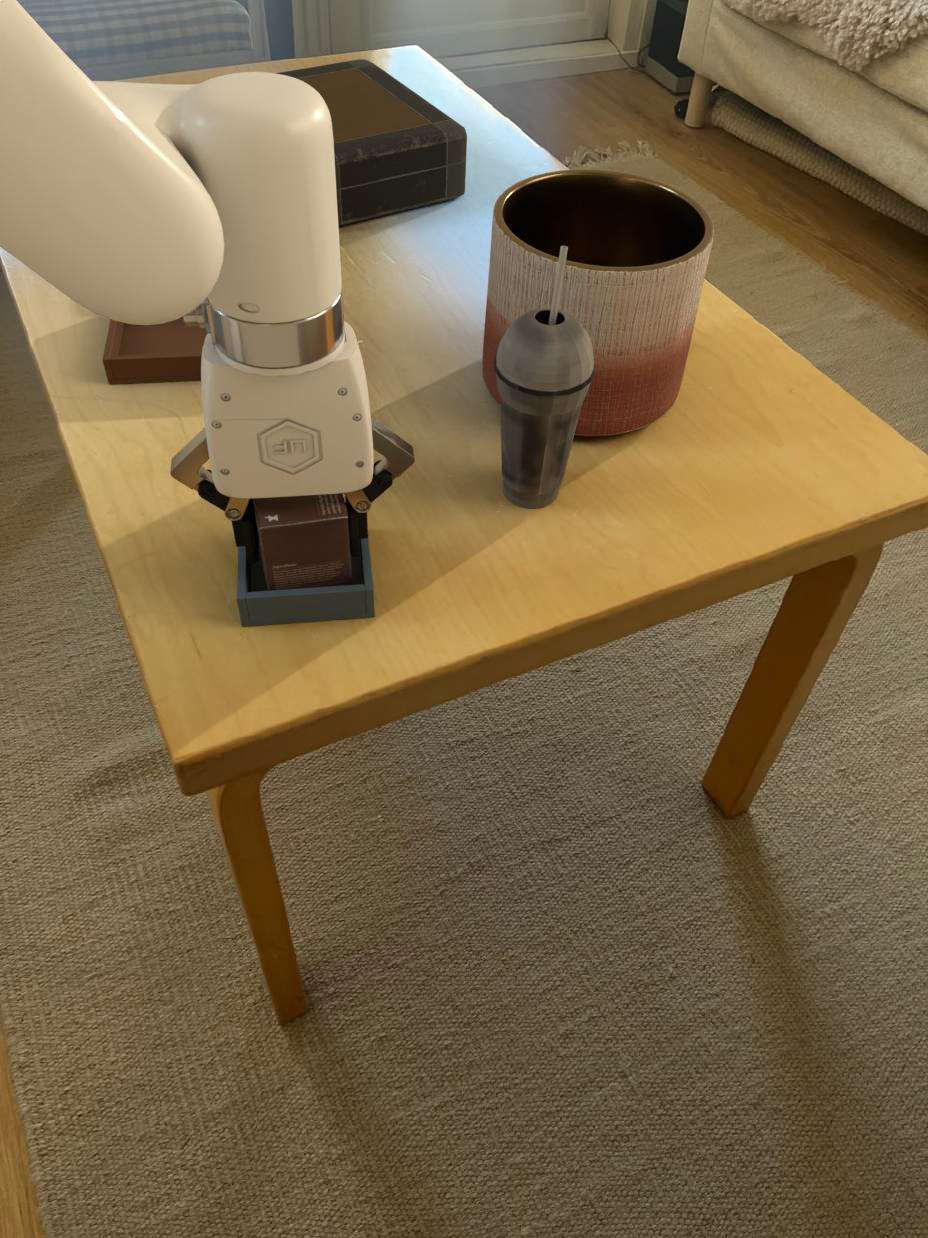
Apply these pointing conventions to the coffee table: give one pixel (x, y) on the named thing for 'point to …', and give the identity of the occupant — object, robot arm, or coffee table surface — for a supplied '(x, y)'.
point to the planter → (604, 283)
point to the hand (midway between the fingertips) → (303, 544)
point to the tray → (153, 352)
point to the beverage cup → (541, 397)
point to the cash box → (386, 142)
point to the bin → (304, 595)
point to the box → (304, 541)
